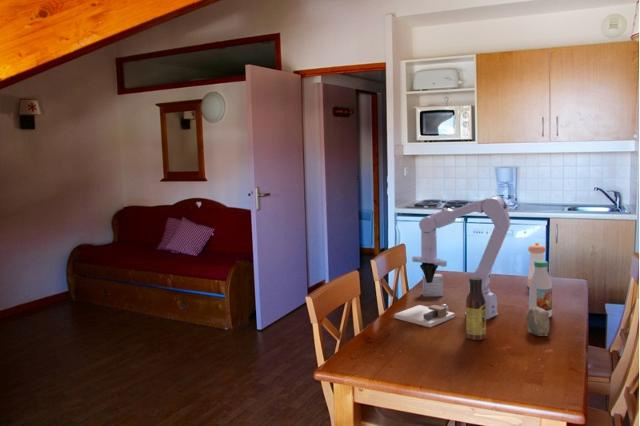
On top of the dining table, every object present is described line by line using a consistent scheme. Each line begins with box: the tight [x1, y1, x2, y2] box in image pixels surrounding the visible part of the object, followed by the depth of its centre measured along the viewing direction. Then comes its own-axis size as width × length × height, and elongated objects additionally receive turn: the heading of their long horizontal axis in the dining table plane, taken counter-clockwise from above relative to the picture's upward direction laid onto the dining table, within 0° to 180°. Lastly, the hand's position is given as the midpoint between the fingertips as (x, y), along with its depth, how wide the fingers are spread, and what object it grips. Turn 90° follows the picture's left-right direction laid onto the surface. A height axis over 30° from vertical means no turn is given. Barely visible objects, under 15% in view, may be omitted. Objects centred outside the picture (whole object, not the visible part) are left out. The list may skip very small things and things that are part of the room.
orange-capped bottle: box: [527, 242, 547, 288], centre depth 241 cm, size 7×7×19 cm
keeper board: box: [394, 304, 456, 328], centre depth 206 cm, size 16×15×5 cm
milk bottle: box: [528, 260, 553, 318], centre depth 203 cm, size 8×8×20 cm
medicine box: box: [422, 273, 444, 298], centre depth 234 cm, size 8×4×9 cm, turn 84°
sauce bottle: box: [465, 276, 487, 341], centre depth 183 cm, size 7×6×20 cm
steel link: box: [423, 303, 449, 320], centre depth 202 cm, size 13×3×3 cm, turn 133°
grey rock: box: [525, 306, 550, 337], centre depth 185 cm, size 9×8×10 cm
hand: (429, 282), depth 215 cm, fingers closed
